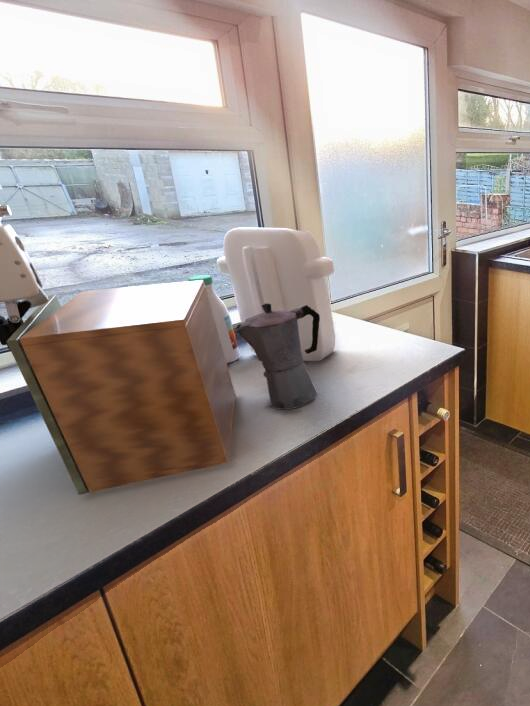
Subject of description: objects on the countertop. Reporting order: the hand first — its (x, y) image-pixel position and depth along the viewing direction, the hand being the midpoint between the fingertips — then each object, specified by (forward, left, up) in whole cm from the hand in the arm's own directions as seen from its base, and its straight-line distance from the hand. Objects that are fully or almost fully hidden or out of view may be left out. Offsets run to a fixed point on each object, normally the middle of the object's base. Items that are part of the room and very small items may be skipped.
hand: (19, 347), depth 73 cm
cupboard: (+15, 0, -19) cm, 24 cm away
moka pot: (+35, +7, -19) cm, 40 cm away
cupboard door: (0, 0, -19) cm, 19 cm away
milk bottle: (+20, +37, -19) cm, 46 cm away
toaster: (+35, +33, -19) cm, 52 cm away
